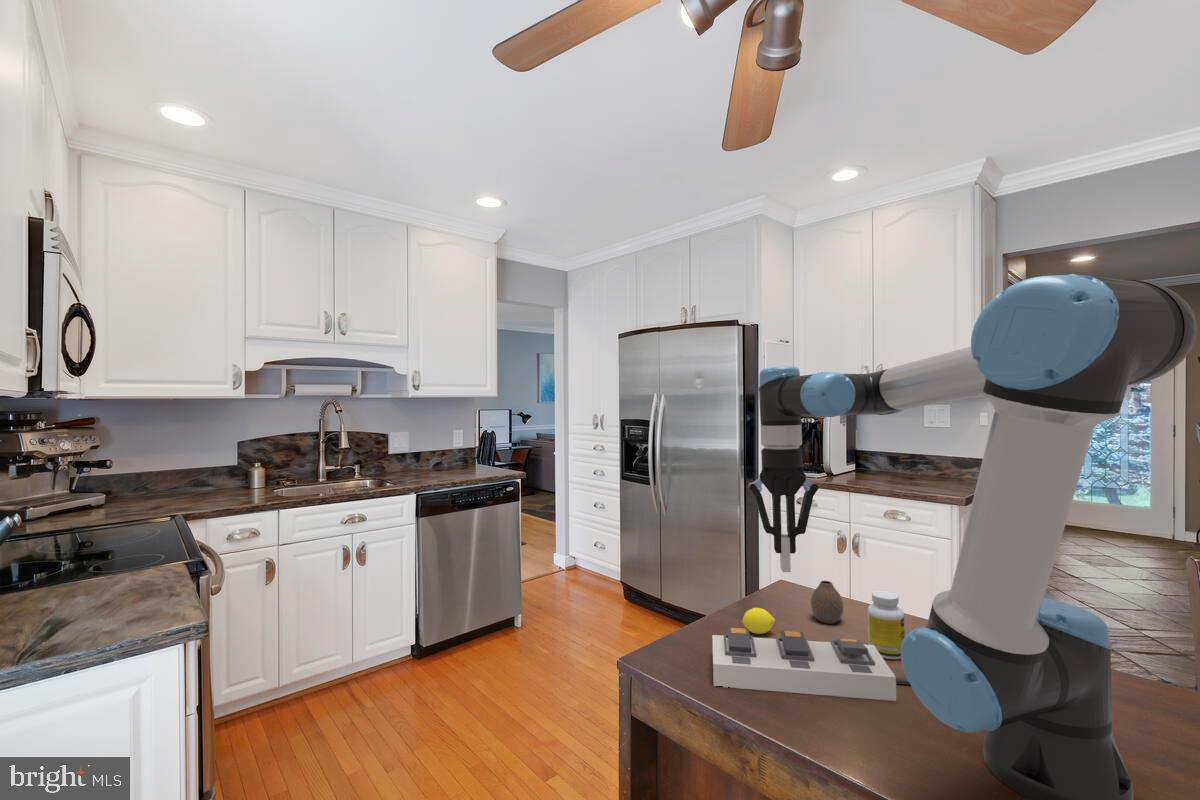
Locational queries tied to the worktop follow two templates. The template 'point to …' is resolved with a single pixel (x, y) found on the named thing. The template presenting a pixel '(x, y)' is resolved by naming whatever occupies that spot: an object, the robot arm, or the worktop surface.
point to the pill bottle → (886, 624)
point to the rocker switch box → (804, 670)
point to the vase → (827, 603)
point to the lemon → (758, 620)
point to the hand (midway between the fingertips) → (785, 569)
